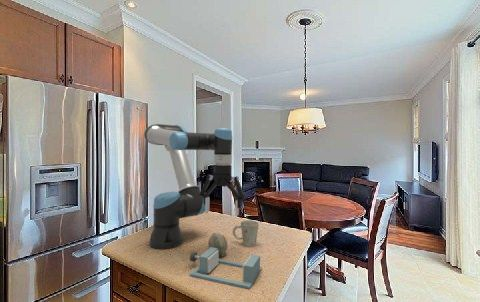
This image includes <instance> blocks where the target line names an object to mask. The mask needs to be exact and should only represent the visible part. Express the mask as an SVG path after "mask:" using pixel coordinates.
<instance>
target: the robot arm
mask: <svg viewBox="0 0 480 302" xmlns="http://www.w3.org/2000/svg"><path fill="white" fill-rule="evenodd" d="M143 136H144V139H145V141H146V142H147V143H148V144H151V145H154V146H164V148H165V150H166V151H167V152H169V156H170V159H171V163H172V166H173V170H174V174H175V178H176V180H177V185H178V189H179V190H178V191H168V192H167V191H166V192H163V193H160V194H157V195H156V196H155V197H154V198H153V207H152V208H153V229H152V231H151V233H150V238H149V246H150V248H154V249H159V250H165V249H166V250H167V249H173V248H176V247H179V246H181V244H183V243H184V236H183V233H182V230H181V227H180V219H184V218H189V217H194V216H196V217H197V216H200V215H203V214H204V213H205V214H208V213H209V212H210V203H211V201H210V199H211V198H210V194H211V193H212V192H213V191H214V190H215V188H216V187H217V186H218V187H224V188H225V187H227V188H228V190H229V191H230V192H231V193H232V194H233V196H234V197H235V201H234V202H235V210H234V211H235V212H234V213H235V214H234V216H235V217H238V216H239V215H240V208H241V207H242V200H245V199H246V194H245V191H244V190H243V187H242V185H241V183H240V178H239V176H238V175H236V176H232V165H231V164H232V161H233V160H232V158H233V156H232V154H233V153H232V152H233V148H232V147H233V130H232V129H231V128H227V127H217V128H215V129H214V132H213V133H206V132H205V133H204V132H190V131H189V132H188V130H187V129H186V128H185V127H184V126H182V125H177V124H176V125H175V124H174V125H171V124H161V123H155V124H151V125H149V126H148V127H146V129H145V130H144V134H143ZM187 150H188V151H191V150H192V151H193V150H194V151H214V152H213V153H214V155H213V163H214V165H213V175H212V174H207V175H206V179H205V182H204V184H203V186H202V188H200V186H199V185H196V182H195V178H194V175H193V172H192V169H191V165H190V161H189V158H188V155H187ZM212 180H213V183H212V184H211V181H212ZM232 181H233V182H234V185H235V187H236V188H235V187H234V185H233V183H232ZM210 184H211V186H210ZM209 186H210V187H209ZM208 187H209V188H208ZM236 189H237V190H236Z"/></svg>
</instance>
